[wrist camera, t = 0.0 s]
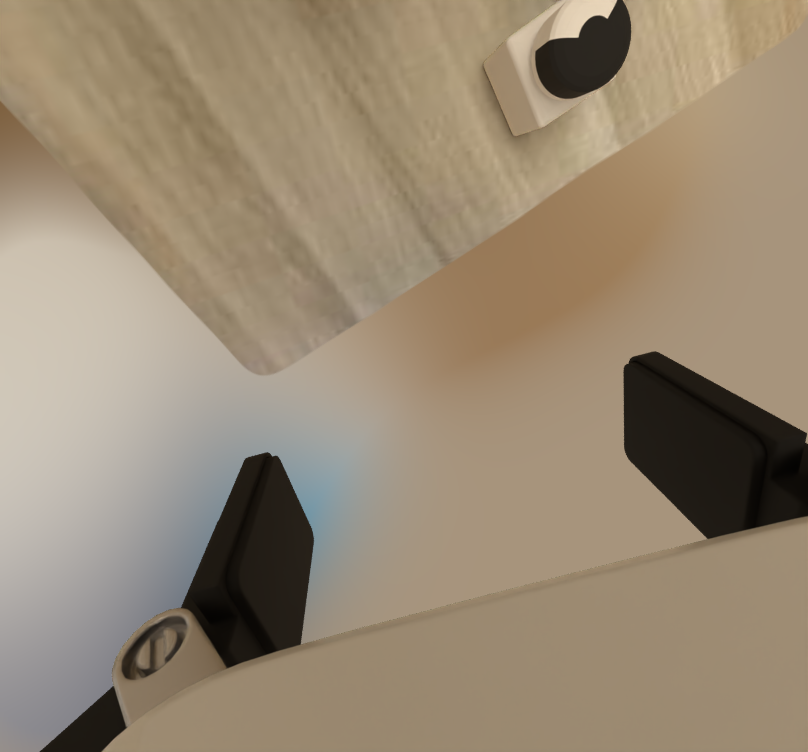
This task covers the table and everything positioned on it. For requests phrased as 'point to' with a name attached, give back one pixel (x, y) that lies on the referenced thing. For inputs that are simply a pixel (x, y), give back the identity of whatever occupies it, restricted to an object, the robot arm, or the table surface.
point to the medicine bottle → (558, 60)
